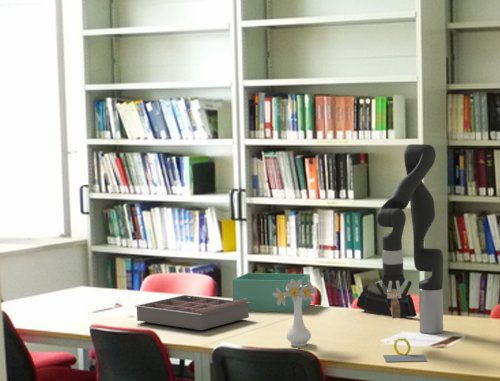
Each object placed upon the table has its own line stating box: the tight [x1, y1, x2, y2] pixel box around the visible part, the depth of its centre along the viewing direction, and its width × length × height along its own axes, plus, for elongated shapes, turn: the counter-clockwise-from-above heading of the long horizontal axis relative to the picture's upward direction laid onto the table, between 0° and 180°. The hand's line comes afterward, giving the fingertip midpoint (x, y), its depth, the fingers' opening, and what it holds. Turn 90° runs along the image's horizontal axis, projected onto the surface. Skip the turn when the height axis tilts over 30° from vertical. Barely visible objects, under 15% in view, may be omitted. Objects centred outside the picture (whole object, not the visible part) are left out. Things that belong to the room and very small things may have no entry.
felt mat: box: [383, 353, 428, 363], centre depth 304 cm, size 9×14×1 cm, turn 87°
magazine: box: [356, 287, 417, 318], centre depth 382 cm, size 17×3×30 cm
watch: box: [393, 336, 412, 355], centre depth 311 cm, size 6×3×6 cm, turn 52°
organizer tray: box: [134, 294, 250, 331], centre depth 381 cm, size 32×40×10 cm
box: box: [231, 272, 312, 313], centre depth 411 cm, size 21×32×14 cm, turn 70°
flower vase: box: [272, 279, 318, 347], centre depth 330 cm, size 13×18×25 cm
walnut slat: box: [390, 292, 401, 319], centre depth 323 cm, size 14×3×4 cm, turn 176°
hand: (394, 307), depth 323 cm, fingers closed on walnut slat, 2 cm apart
